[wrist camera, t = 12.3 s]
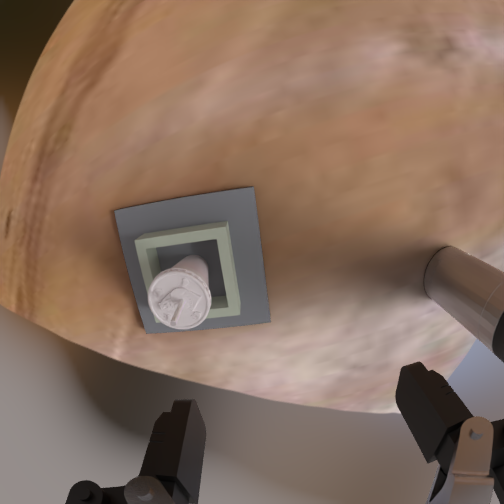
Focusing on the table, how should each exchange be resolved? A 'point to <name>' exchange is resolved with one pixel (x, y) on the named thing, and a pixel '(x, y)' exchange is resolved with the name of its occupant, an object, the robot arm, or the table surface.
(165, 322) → the smoothie
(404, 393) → the robot arm
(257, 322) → the stand
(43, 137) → the table surface
